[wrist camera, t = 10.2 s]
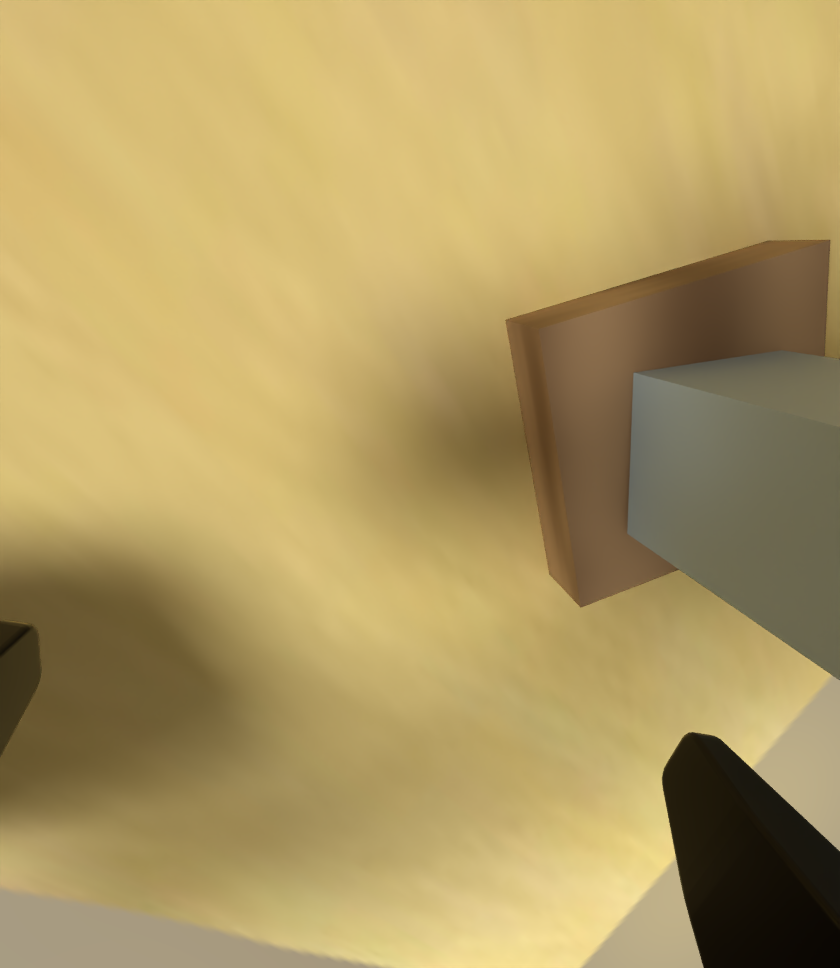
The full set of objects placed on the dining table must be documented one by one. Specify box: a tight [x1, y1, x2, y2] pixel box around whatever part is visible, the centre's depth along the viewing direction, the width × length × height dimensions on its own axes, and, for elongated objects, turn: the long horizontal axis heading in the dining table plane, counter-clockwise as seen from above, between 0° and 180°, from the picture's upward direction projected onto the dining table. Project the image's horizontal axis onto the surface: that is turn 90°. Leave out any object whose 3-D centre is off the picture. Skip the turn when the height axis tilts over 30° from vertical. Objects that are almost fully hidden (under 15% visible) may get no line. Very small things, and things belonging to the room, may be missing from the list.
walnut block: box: [506, 240, 830, 607], centre depth 21 cm, size 10×10×3 cm
